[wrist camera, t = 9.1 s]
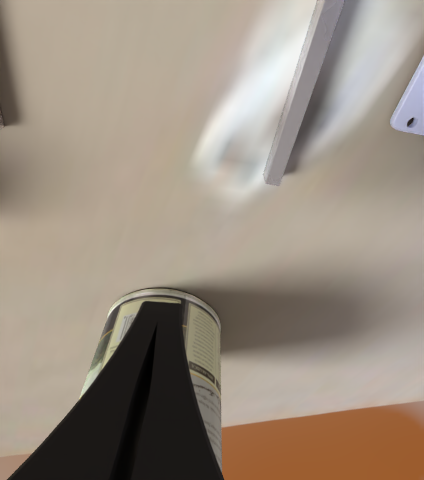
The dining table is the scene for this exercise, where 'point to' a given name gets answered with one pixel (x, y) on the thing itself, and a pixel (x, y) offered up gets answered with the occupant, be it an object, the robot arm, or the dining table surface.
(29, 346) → the dining table surface
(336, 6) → the rails
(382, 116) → the dining table surface
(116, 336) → the coffee can
